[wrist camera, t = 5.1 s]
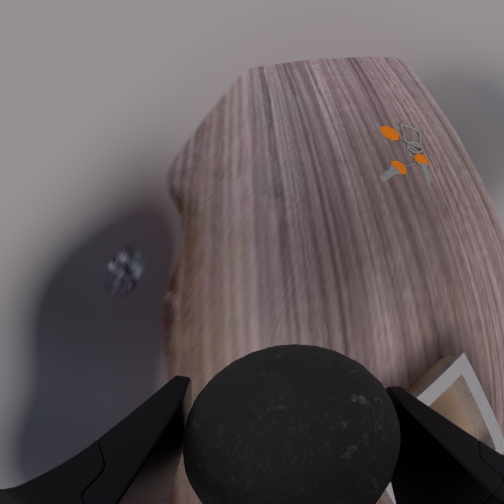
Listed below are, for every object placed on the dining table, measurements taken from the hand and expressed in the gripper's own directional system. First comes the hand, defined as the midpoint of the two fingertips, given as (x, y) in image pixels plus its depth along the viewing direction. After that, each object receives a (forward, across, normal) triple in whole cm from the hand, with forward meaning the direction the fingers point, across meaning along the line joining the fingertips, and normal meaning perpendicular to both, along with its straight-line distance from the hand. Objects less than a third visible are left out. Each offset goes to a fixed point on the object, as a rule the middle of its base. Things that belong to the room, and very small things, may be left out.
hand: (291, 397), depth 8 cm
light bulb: (+4, 0, +6) cm, 7 cm away
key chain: (+28, -16, -10) cm, 34 cm away
